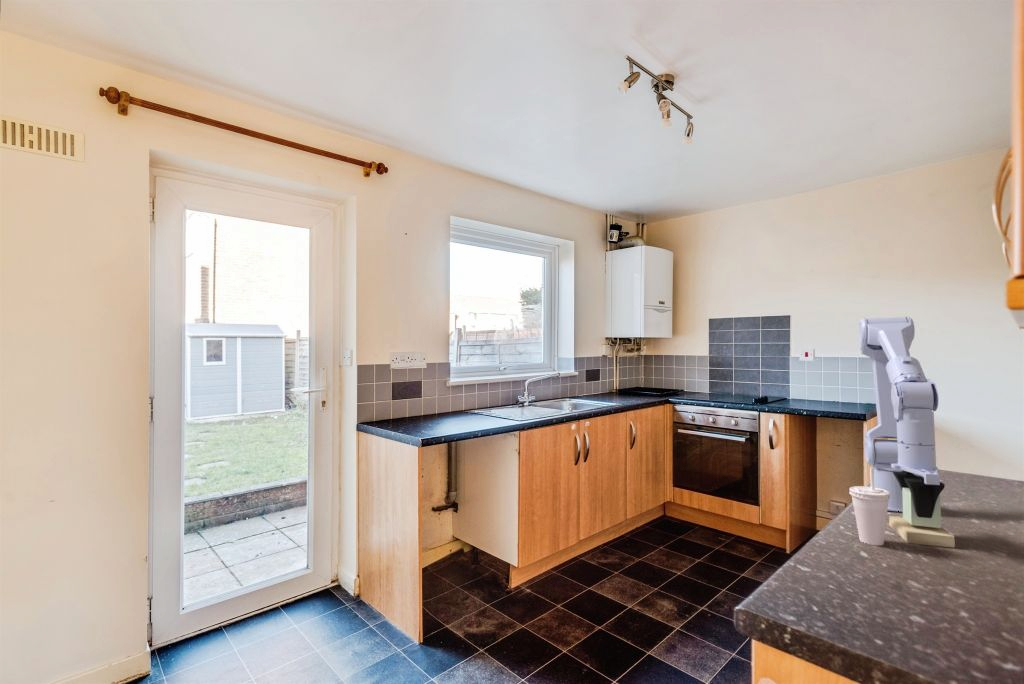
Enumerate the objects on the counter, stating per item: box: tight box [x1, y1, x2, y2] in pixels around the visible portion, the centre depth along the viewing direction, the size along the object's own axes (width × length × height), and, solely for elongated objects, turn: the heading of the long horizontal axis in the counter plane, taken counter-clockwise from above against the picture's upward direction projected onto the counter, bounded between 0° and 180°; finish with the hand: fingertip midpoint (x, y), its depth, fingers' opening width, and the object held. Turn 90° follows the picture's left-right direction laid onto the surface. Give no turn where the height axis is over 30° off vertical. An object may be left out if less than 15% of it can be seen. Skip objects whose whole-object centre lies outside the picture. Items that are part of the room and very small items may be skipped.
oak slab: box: [888, 515, 956, 548], centre depth 94 cm, size 10×7×2 cm
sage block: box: [902, 488, 942, 528], centre depth 94 cm, size 4×4×6 cm
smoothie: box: [849, 466, 891, 547], centre depth 92 cm, size 6×6×14 cm
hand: (919, 513), depth 95 cm, fingers closed on sage block, 4 cm apart
